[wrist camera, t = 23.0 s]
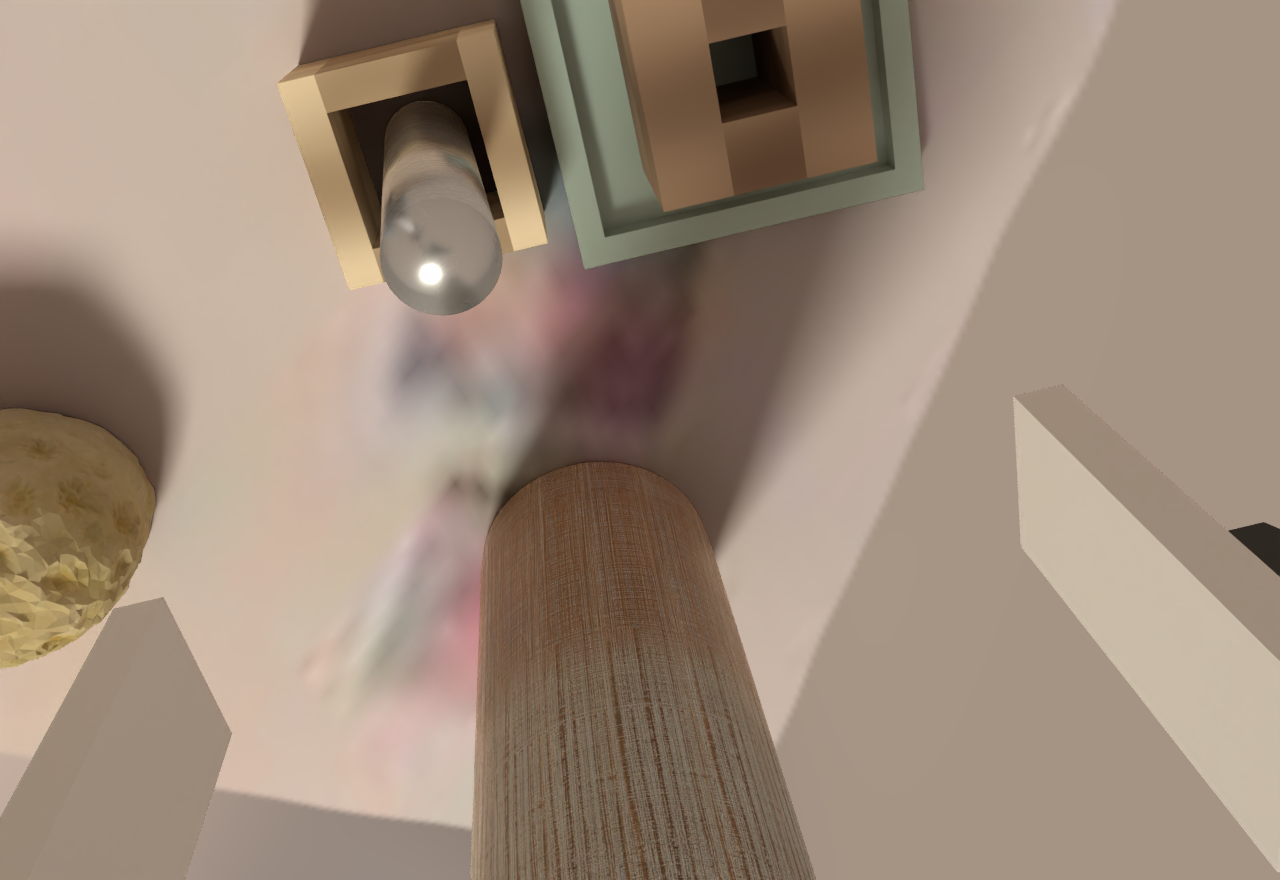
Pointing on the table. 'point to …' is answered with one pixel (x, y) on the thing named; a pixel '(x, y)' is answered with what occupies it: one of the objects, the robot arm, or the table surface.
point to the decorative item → (64, 529)
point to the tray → (600, 111)
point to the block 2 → (744, 94)
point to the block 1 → (393, 71)
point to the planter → (618, 696)
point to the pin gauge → (435, 214)
